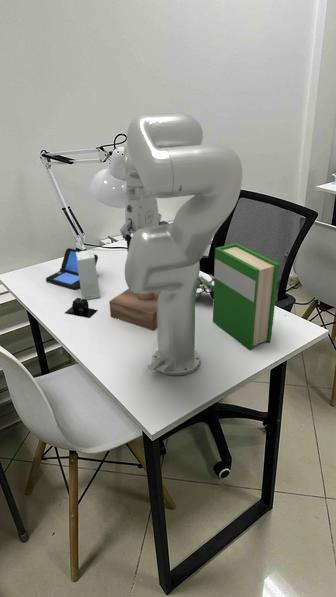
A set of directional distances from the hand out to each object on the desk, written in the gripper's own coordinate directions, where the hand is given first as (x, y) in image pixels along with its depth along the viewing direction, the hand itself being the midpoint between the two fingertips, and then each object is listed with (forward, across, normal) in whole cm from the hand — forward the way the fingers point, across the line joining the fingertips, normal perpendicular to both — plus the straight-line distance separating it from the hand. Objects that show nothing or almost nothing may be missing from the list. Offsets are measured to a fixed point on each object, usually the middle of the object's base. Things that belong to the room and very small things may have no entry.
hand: (143, 249), depth 127 cm
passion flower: (+22, +16, -10) cm, 29 cm away
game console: (+22, +4, +39) cm, 44 cm away
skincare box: (+22, -1, +24) cm, 33 cm away
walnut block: (+22, 0, 0) cm, 22 cm away
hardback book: (+22, +7, -30) cm, 38 cm away
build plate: (+22, -11, +18) cm, 31 cm away
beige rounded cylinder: (+16, 0, 0) cm, 16 cm away
